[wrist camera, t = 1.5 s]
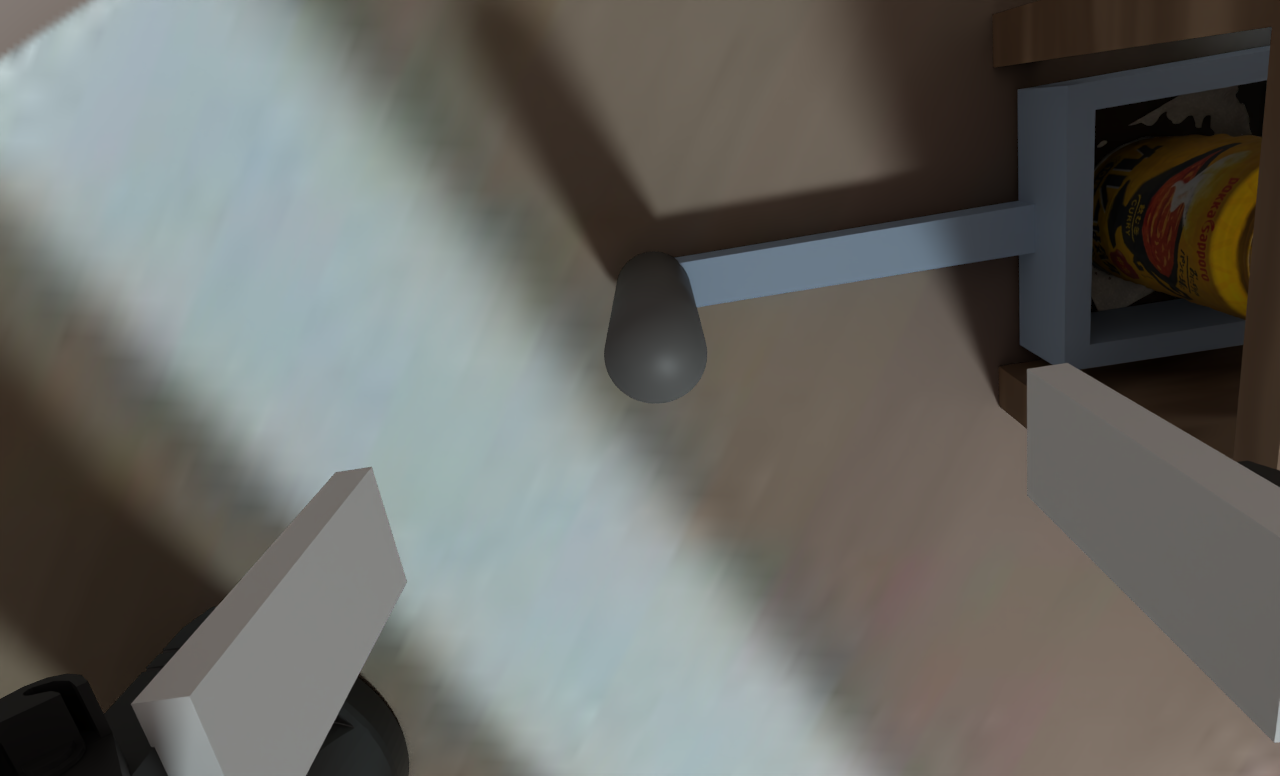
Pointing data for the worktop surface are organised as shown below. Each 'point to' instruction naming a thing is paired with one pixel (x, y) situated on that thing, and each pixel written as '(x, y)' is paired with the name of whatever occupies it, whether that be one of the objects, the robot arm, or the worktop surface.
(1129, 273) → the condiment
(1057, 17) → the tunnel
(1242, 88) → the worktop surface
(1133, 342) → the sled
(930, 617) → the worktop surface
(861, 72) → the worktop surface
